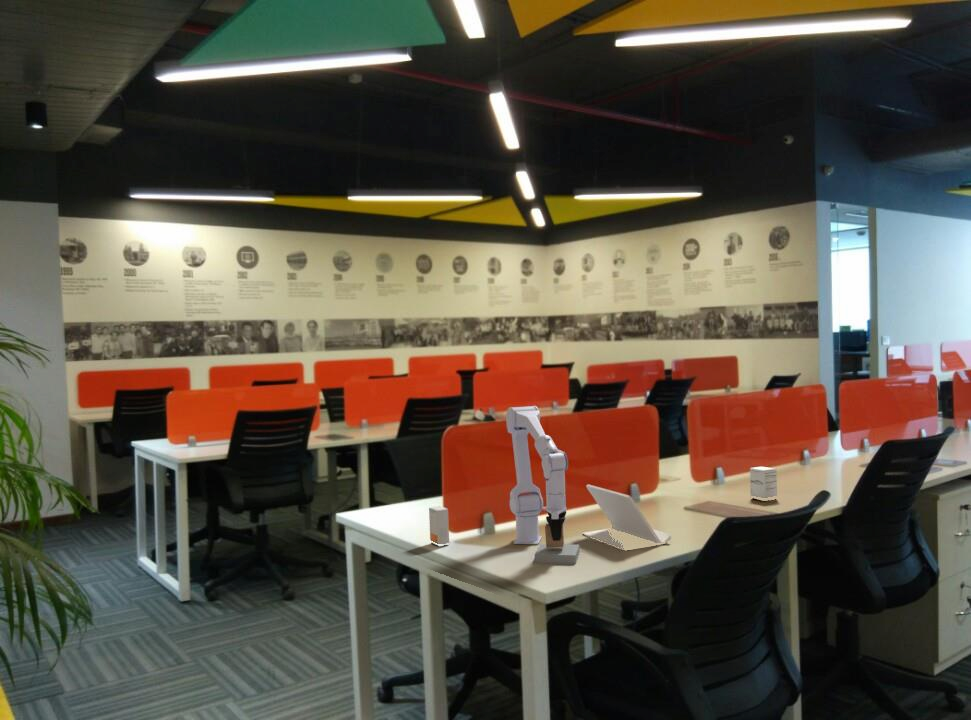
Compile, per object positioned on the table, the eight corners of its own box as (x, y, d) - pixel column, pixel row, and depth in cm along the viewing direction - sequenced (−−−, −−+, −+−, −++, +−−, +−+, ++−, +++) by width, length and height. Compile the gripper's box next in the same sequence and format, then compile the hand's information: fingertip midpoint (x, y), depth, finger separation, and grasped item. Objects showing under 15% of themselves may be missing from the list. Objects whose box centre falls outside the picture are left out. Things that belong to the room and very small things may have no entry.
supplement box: (749, 499, 303) (748, 467, 303) (763, 497, 307) (762, 465, 306) (764, 502, 297) (763, 470, 296) (778, 500, 300) (777, 468, 300)
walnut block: (547, 543, 232) (546, 523, 231) (563, 543, 231) (562, 523, 231) (546, 547, 227) (544, 527, 226) (563, 547, 226) (561, 527, 226)
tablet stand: (625, 552, 233) (623, 496, 233) (581, 535, 256) (579, 484, 255) (672, 544, 240) (671, 490, 240) (626, 528, 263) (625, 479, 263)
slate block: (540, 553, 236) (540, 543, 236) (579, 554, 233) (579, 544, 233) (534, 564, 224) (534, 554, 224) (575, 565, 221) (575, 555, 221)
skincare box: (429, 543, 250) (428, 507, 250) (441, 541, 252) (440, 505, 252) (438, 547, 245) (436, 510, 245) (449, 545, 247) (448, 508, 247)
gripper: (544, 488, 236) (545, 532, 236) (540, 497, 222) (542, 544, 222) (566, 488, 235) (568, 532, 235) (564, 497, 221) (566, 544, 221)
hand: (557, 538), depth 229 cm, fingers closed on walnut block, 5 cm apart
